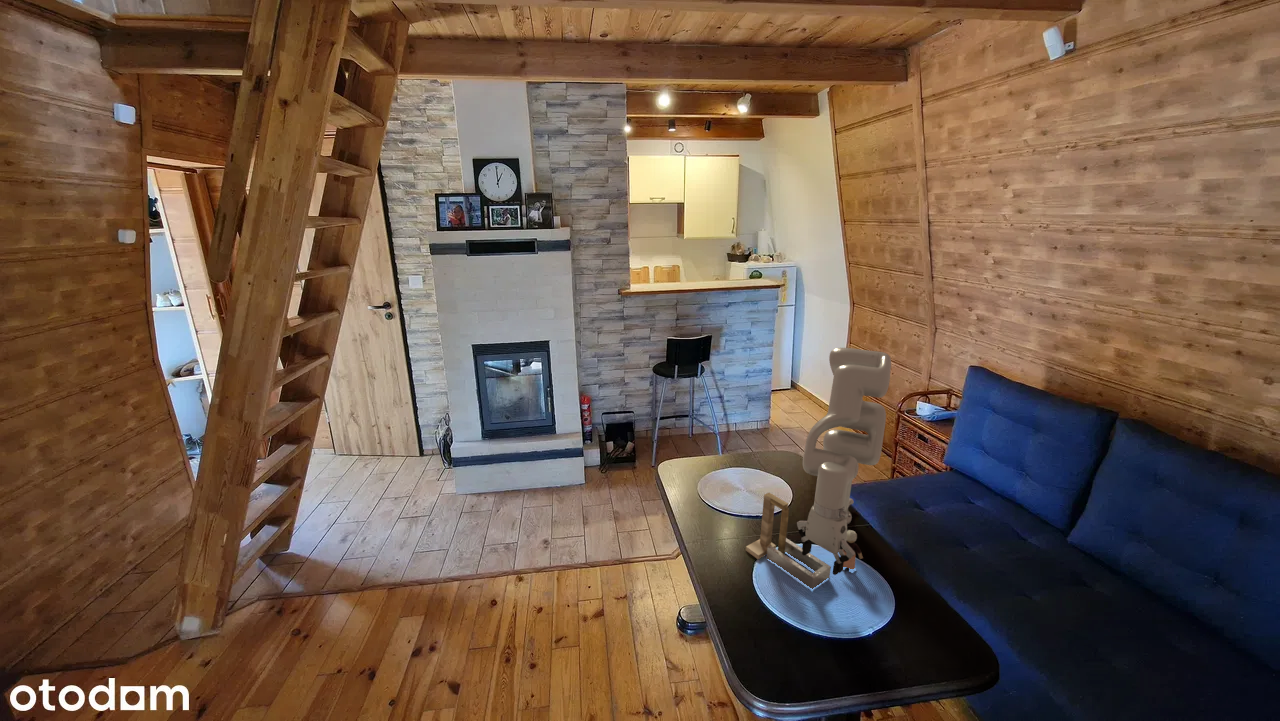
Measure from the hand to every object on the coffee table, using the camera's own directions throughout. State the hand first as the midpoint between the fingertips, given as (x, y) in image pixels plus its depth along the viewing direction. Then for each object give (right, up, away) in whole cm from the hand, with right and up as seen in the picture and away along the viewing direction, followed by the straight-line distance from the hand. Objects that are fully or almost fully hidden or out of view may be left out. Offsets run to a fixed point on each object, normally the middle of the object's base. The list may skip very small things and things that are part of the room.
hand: (821, 562), depth 136 cm
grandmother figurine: (+11, -6, +9) cm, 15 cm away
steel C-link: (-4, -5, +9) cm, 11 cm away
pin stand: (-11, -3, +15) cm, 19 cm away
